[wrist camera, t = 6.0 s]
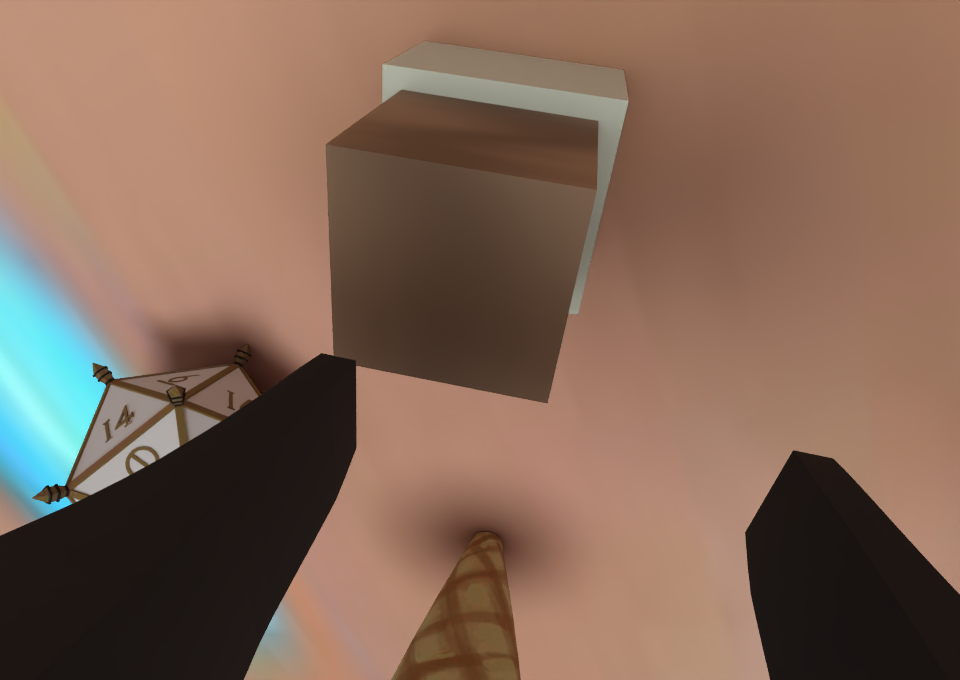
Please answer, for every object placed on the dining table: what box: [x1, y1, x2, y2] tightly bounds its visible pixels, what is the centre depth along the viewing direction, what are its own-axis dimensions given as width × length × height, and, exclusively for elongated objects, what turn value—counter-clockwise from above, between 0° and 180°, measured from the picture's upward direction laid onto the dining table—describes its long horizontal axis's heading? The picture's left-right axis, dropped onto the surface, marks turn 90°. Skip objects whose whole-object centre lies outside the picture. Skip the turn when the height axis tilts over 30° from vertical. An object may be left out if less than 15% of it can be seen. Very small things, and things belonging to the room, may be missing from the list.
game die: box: [32, 344, 261, 504], centre depth 22 cm, size 9×8×10 cm
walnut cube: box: [326, 90, 598, 403], centre depth 13 cm, size 4×4×4 cm
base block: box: [382, 41, 629, 315], centre depth 16 cm, size 6×6×4 cm
